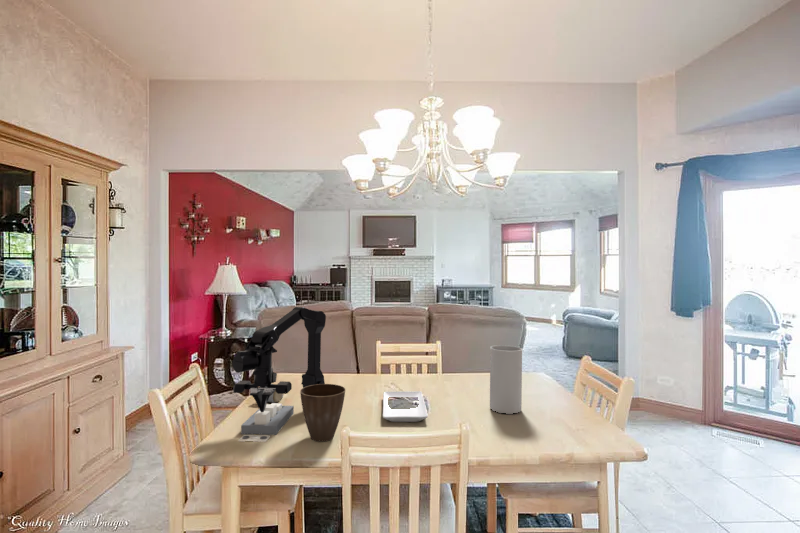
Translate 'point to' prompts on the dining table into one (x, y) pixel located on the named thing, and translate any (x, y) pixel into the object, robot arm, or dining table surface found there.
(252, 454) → the dining table surface
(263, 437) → the pattern card
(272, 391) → the robot arm
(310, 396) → the plant pot
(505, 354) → the cylinder vase
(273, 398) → the ceramic mug
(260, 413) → the button
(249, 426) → the button board
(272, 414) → the button middle
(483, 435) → the dining table surface
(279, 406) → the button
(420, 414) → the tray
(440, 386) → the dining table surface
